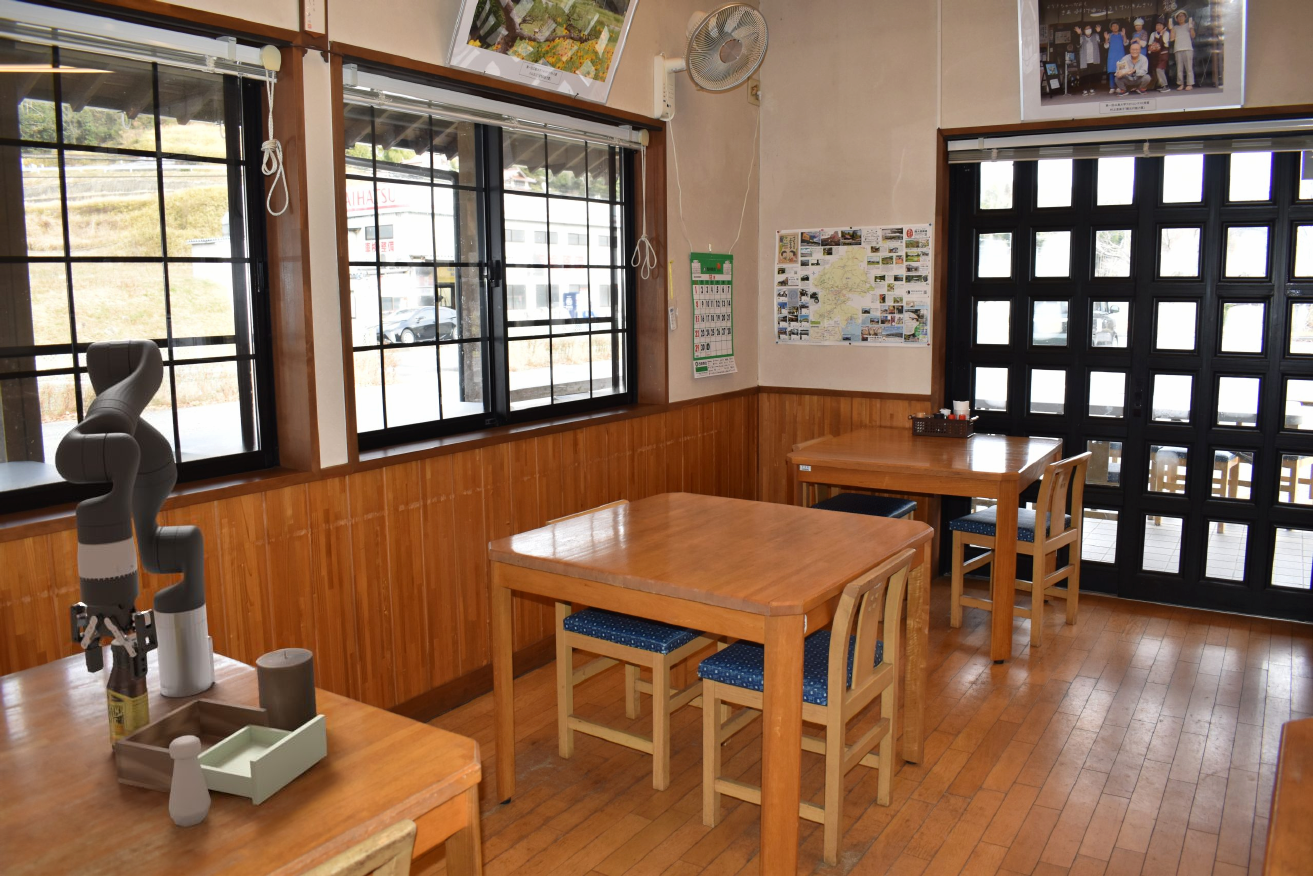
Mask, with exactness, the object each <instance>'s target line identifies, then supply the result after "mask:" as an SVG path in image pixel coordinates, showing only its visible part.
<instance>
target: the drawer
mask: <svg viewBox="0 0 1313 876" xmlns="http://www.w3.org/2000/svg"><path fill="white" fill-rule="evenodd" d="M326 728H327V726H326V715H325V714H320V713H319V714H317V717H315V718H314V719H312V720H311V721H309V722H308V723H306V724H305V725H303V726H301V727H300V728H298V729H297V730H295V731H294V732H291V731H285V730H280V729H274V728H268V727H263V726H257V725H251V724H249V725H247V726H246V727H244V728H242V729H241V730H239V731H237V732H236V733H234V734H233V735H231V736H229V737H228V738H226V739H224V740H223V741H221V742H219V743H218V744H216V745H214V746H213V747H211V748H210V749H208V750H206V751H205V752H203V753H201V754H200V755H198V759H199V762H200V766H201V769H202V772H203V776H204V779H205V782H206V786H207V789H208V790H213V791H216V792H217V791H218V792H221V793H228V794H232V795H235V796H242V797H245V798H246V797H247V798H251V799H252V805H256V806H257V805H258V806H259V805H260V804H262V803H263V802H264V801H266V800H267V799H268V798H270V797H271V796H273V794H275V793H277V792H278V791H279V790H281V789H282V788H283V787H284V786H286V785H288V784H289V783H290V782H292V781H293V780H295V779H296V778H297V777H298V776H300V775H302V773H304V772H305V771H307V770H308V769H310V768H311V767H312V766H314V765H315V764H316V763H318V762H319V761H321V760H322V759H323V758H325V757H326V756H328V746H327V730H326Z"/></svg>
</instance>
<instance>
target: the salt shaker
mask: <svg viewBox="0 0 1313 876" xmlns="http://www.w3.org/2000/svg"><path fill="white" fill-rule="evenodd" d="M200 750H201V743H200V740H199V738H197V737H195V736H189V735H188V736H182V737H179V738H177V739H175V740H173V741H172V743H171V744H170V746H169V752H170V756H171V758H173V759H175V761H174V770H173V778H172V785H171V793H169V801H168V811H169V815H170V818H171V819H172V820H173V821H174V823H175V825H176V826H180V827H184V828H186V827H190V826H191V827H192V826H195V825H199V824H200V823H201V822H202V821H204V820H205V819H206V817H207V815H208V813H209V810H210V807H211V804H212V799H211V796H210V793H209V789H207V786H206V782H205V779H204V776H203V772H202V769H201V766H200V762H199V759H198V756H197V754H198V753H199V752H200Z"/></svg>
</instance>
